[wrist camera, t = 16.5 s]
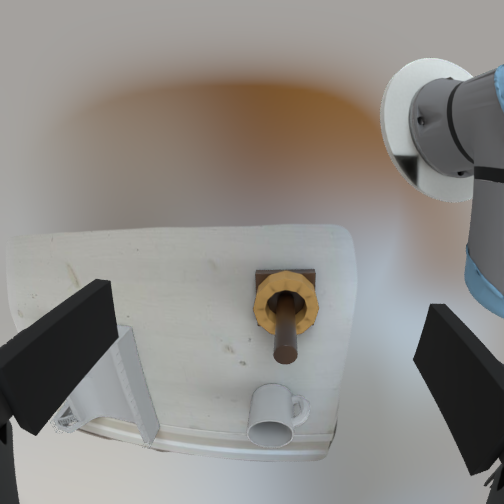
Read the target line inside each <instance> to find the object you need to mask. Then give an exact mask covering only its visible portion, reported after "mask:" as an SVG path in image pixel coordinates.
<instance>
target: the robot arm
mask: <svg viewBox="0 0 504 504" xmlns="http://www.w3.org/2000/svg"><path fill="white" fill-rule="evenodd" d="M409 129H410V134H411V137H412V140H413V143H414V145H415V147H416V149H417V151H418V153H419V154H420V156H421V157H422V159H423V160H424V161H425V162H426V163H427V164H428V165H429V166H430V167H431V168H432V169H433V170H435V171H436V172H438V173H440V174H442V175H445V176H448V177H455V178H466V177H470V176H473V175H474V182H473V200H472V213H471V222H470V231H469V238H468V243H467V245H466V254H467V258H466V266H465V274H464V275H465V282H466V285H467V287H468V289H469V291H470V293H471V294H472V296H473V297H474V298H475V299H476V300H477V301H478V302H479V303H480V304H481V305H482V306H483V307H485V308H486V309H488V310H489V311H491V312H492V313H494V314H496V315H498V316H499V317H501V318H504V184H503V183H504V65H501V66H499V67H498V68H496V69H494V70H491V71H488V72H486V73H483V74H481V75H478V76H476V77H473V78H471V79H468V80H466V81H460V80H454V79H453V78H452V77H449V78H440V79H435V80H432V81H430V82H429V83H427V84H425V85H423V86H422V87H421V88H420V89H418V91H417V92H416V93H415V95H414V97H413V99H412V101H411V104H410V108H409ZM478 179H479V180H478ZM484 180H487V181H484ZM491 181H493V182H491ZM498 182H499V183H498ZM118 338H119V334H118V328H117V323H116V317H115V310H114V304H113V297H112V289H111V281H108V280H100V279H95V280H94V281H92V282H91V283H89V284H88V285H86V286H85V287H84V288H82V289H81V290H79V291H78V292H76V293H75V294H74V295H72V296H71V297H69V298H68V299H66V300H65V301H64V302H62V303H61V304H59V305H58V306H57V307H55V308H54V309H53V310H51V311H50V312H48V313H47V314H46V315H44V316H43V317H42V318H40V319H39V320H38V321H36V322H35V323H34V324H32V325H31V326H30V327H28V328H27V329H24V330H22V331H21V332H20V333H18V334H17V335H16V336H14V338H13V339H11V340H9V341H8V342H7V344H4V345H3V346H2V347H0V504H19V498H18V491H17V484H16V476H15V468H14V456H13V435H12V425H11V423H10V421H9V419H10V418H11V417H12V415H14V417H15V419H16V420H17V422H18V424H19V426H20V427H21V428H23V429H24V430H26V431H28V432H29V433H31V434H33V435H35V436H36V435H37V434H38V433H39V432H40V430H41V429H42V428H43V427H44V425H45V424H46V423H47V422H48V420H49V419H50V418H51V417H52V415H53V414H54V413H55V412H56V411H57V409H58V408H59V407H60V406H61V404H62V403H63V402H64V401H65V400H66V398H67V397H68V396H69V395H70V394H71V392H72V391H73V390H74V389H75V388H76V386H77V385H78V384H79V383H80V382H81V381H82V379H83V378H84V377H85V376H86V375H87V373H88V372H89V371H90V370H91V369H92V368H93V366H94V365H95V364H96V363H97V362H98V361H99V360H100V358H101V357H102V356H103V355H104V354H105V353H106V351H107V350H108V349H109V348H110V347H111V346H112V345H113V343H114V342H115V341H116V340H117V339H118ZM413 361H414V362H415V364H416V366H417V368H418V369H419V371H420V373H421V375H422V377H423V379H424V380H425V382H426V384H427V386H428V388H429V390H430V392H431V394H432V396H433V397H434V399H435V401H436V403H437V405H438V407H439V409H440V411H441V413H442V415H443V417H444V419H445V421H446V423H447V425H448V427H449V429H450V431H451V433H452V435H453V438H454V440H455V442H456V444H457V446H458V448H459V450H460V453H461V455H462V457H463V459H464V461H465V464H466V466H467V468H468V471H469V473H470V475H471V476H472V475H475V474H478V473H481V472H483V471H486V470H488V469H489V468H490V467H491V466H492V465H493V463H494V462H495V461H496V460H497V458H498V457H499V459H500V461H501V463H502V464H501V465H500V466H499V467H498V468H497V469H496V471H495V472H494V473H493V474H492V475H491V476H490V477H489V478H488V480H487V481H486V482H485V484H484V486H487V485H488V484H489V483H490V482H491V480H493V479H494V481H493V484H492V485H491V486H490V488H491V490H490V493H489V496H488V499H487V502H486V504H504V364H502V363H501V362H499V361H498V360H497V359H496V358H495V357H494V356H493V354H492V353H491V352H490V351H489V350H488V349H487V348H486V347H485V345H484V344H483V343H482V342H481V341H480V340H479V339H478V338H477V337H476V336H475V335H474V333H473V332H472V331H471V330H470V329H469V328H468V327H467V326H466V325H465V324H464V323H463V322H462V321H461V320H460V319H459V318H458V317H457V316H456V315H455V314H454V313H453V312H452V311H451V310H450V309H449V308H448V307H447V306H446V304H430V306H429V310H428V314H427V317H426V321H425V324H424V327H423V331H422V334H421V338H420V340H419V344H418V347H417V350H416V353H415V355H414V358H413Z"/></svg>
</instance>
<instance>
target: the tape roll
mask: <svg viewBox="0 0 504 504" xmlns="http://www.w3.org/2000/svg"><path fill="white" fill-rule="evenodd" d="M284 290H289V291H293V292H297V293H298V294H299V295H300V296H301V297H303V298H304V299H305V304H304V307H303V309H302V310H301V311H299V312H298V313H297V314H296V315H295V317H296V334H301V333H303V332H304V331H305V330H307V329H308V328H309V327H310V326H311V325H312V324H314V322H315V319H316V316H317V313H318V310H319V306H318V301H317V297H316V293H315V290H314V286H313V284H312V283H311V282H310V281H309V280H307V279H306V278H305V277H304V276H303V275H302V274H299V273H294V272H290V271H282V272H279V273H275V274H271V275H269V276H268V277H267V278H266V279H265V280H264V281H263V282H262V283H261V284H260V285H259V286H258V290H257V294H256V299H255V303H254V308H253V310H254V313H255V316H256V319H257V322H258V324H259V325H260V326H262V327H263V328H264V329H265V330H266V331H268V332H269V333H271V334H274V335H275V325H276V314H275V313H273V312H272V311H271V310H270V309H269V306H268V303H267V300H268V299H269V298H270V297H271V296H272V295H273V294H274V293H276V292H280V291H284Z"/></svg>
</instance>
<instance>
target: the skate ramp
mask: <svg viewBox="0 0 504 504" xmlns="http://www.w3.org/2000/svg"><path fill="white" fill-rule="evenodd" d="M117 328H118V334H119V338H118V339H117V340H116V341H115V342H114V343H113V345H112V346H111V347H110V348H109V349H108V350H107V351H106V353H105V354H104V355H103V356H102V357H101V358H100V360H99V361H98V362H97V363H96V364H95V365H94V366H93V368H92V369H91V370H90V371H89V372H88V373H87V375H86V376H85V377H84V378H83V379H82V381H81V382H80V383H79V384H78V385H77V386H76V388H75V389H74V390H73V391H72V392H71V394H70V395H69V396H68V397H67V398H66V400H67V402H66V403H65V404H64V405H63V406H62V408H61V409H60V410H59V411H58V413H57V414H56V415H55V416H54V418H53V420H54V422H55V425H56V426H57V427H58V429H59V430H62V431H65V432H67V433H71V432H74V431H75V430H77V429H78V428H80V427H81V426H83V425H85V424H86V423H88V422H89V421H91V420H92V419H95V418H97V417H104V416H105V417H111V418H115V419H119V420H123V421H128V422H132V423H136V425H137V427H138V429H139V432H140V434H141V437H142V439H143V441H144V443H147V444H149V445H150V444H151V445H152V443H153V441H154V439H155V437H156V434H157V432H158V430H159V428H160V425H159V422H158V419H157V416H156V413H155V410H154V407H153V404H152V401H151V397H150V394H149V391H148V388H147V384H146V381H145V377H144V374H143V370H142V366H141V363H140V359H139V355H138V351H137V347H136V343H135V339H134V335H133V331H132V327H131V326H121V325H117ZM63 403H64V402H63ZM74 416H75V418H76V419H75V418H74ZM76 420H77V422H76V423H75V424H73V425H72V426H69V427H67V426H68V424H69V423H70V422H71V423H72V422H74V421H76ZM145 446H146V445H145ZM148 447H149V446H148ZM150 447H151V446H150ZM144 448H145V447H144ZM149 449H150V448H149Z"/></svg>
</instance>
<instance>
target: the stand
mask: <svg viewBox="0 0 504 504" xmlns="http://www.w3.org/2000/svg"><path fill="white" fill-rule="evenodd" d="M282 271H290V272H294V273H299V274H302V275H303V276H304V277H305V278H306V279H307V280H309V281H310V282H311V283H312V284H313V286H314V290H315V274H316V273H315V270H314V269H301V270H256V274H255V276H256V294H257V290H258V286H259V285H260V284H261V283H262V282H263V281H264V280H265V279H266V278H267V277H268V276H269V275H271V274H275V273H279V272H282ZM267 303H268V306H269V309H270V310H271V311H272V312H273V313H275V314H276V325H275V340H274V359H275V360H276V361H277V362H278V363H280V364H290V363H292V362H294V361H295V360H296V358H297V355H298V353H297V334H296V317H295V315H296V314H297V313H298V312H299V311H301V310H302V309H303V307H304V304H305V299H304V298H303V297H301V296H300V295H299V294H298V293H297V292H293V291H289V290H284V291H280V292H276V293H274V294H273V295H272V296H271V297H270V298H269V299H268V300H267ZM312 325H314V324H312ZM258 326H260V325H259V324H258Z"/></svg>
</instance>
